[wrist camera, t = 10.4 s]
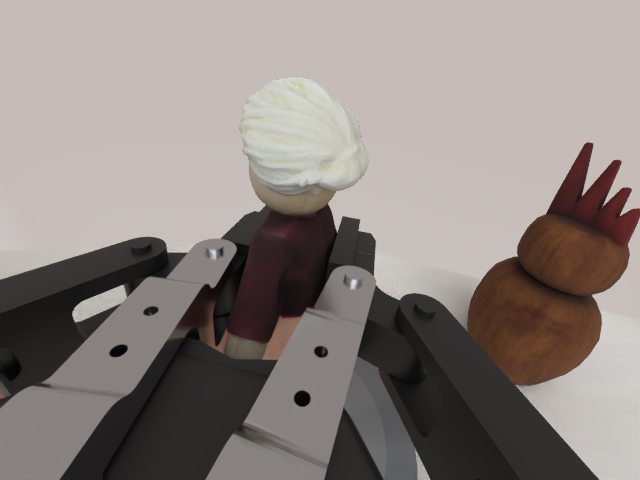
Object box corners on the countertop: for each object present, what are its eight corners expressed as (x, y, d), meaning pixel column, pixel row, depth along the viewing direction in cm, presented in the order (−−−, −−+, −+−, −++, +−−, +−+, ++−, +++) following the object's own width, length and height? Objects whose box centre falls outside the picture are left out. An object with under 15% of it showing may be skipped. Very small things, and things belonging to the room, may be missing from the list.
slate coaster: (20, 592, 10) (9, 585, 10) (217, 313, 22) (216, 304, 22) (430, 745, 9) (440, 745, 8) (404, 357, 21) (408, 349, 20)
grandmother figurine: (266, 326, 17) (275, 71, 11) (332, 340, 17) (381, 85, 10) (191, 486, 10) (102, 58, 4) (300, 517, 10) (384, 97, 4)
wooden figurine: (443, 321, 24) (530, 131, 17) (509, 325, 25) (622, 143, 17) (485, 402, 19) (646, 168, 11) (570, 405, 19) (781, 183, 11)
